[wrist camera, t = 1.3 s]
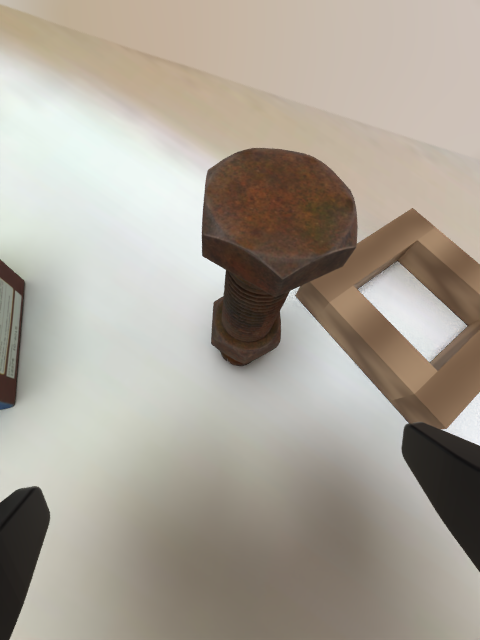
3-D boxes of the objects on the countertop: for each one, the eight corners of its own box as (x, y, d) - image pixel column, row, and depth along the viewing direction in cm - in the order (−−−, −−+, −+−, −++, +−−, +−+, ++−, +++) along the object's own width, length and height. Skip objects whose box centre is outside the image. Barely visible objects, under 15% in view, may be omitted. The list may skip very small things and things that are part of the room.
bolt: (285, 341, 24) (387, 191, 10) (254, 394, 22) (332, 296, 8) (225, 305, 24) (245, 123, 11) (190, 353, 22) (161, 203, 9)
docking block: (509, 332, 26) (544, 319, 23) (416, 431, 22) (446, 428, 19) (394, 230, 30) (412, 208, 27) (295, 295, 26) (305, 276, 23)
